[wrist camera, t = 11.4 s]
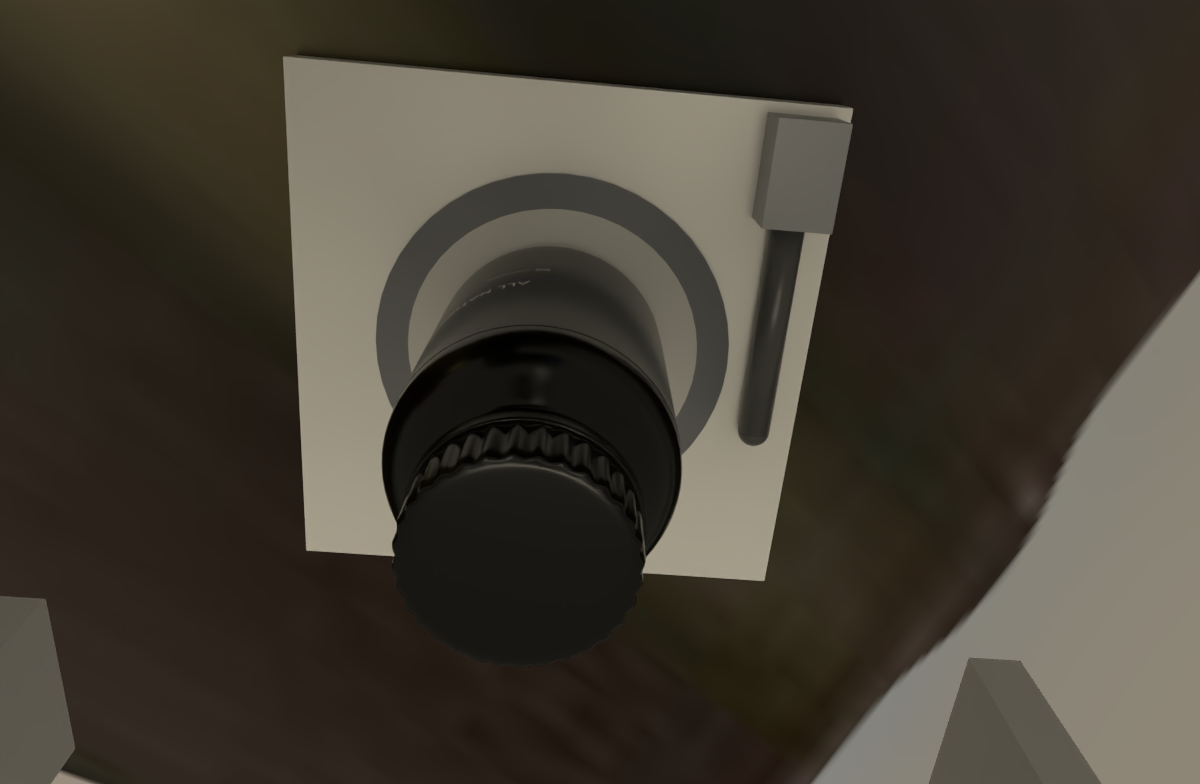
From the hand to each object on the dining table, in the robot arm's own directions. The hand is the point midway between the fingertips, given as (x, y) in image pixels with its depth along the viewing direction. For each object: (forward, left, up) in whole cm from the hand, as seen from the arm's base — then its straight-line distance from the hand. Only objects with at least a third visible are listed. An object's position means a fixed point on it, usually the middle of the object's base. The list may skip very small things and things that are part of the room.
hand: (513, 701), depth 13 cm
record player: (0, 0, -17) cm, 17 cm away
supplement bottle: (0, 0, -16) cm, 16 cm away
